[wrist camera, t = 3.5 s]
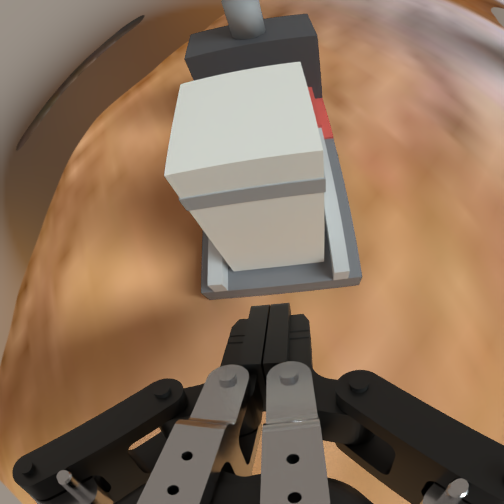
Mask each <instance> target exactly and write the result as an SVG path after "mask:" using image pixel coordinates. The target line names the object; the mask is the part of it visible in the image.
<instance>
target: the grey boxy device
mask: <svg viewBox="0 0 504 504" xmlns="http://www.w3.org/2000/svg"><path fill="white" fill-rule="evenodd" d="M221 2H222V5H223V8H224V11H225V15H226V18H227V21H228V24H229V25H228V26H224V27H219V28H215V29H211V30H207V31H202V32H199V33H195V34H191V36H190V39H189V43H188V47H187V51H186V55H185V61H186V64H187V66H188V68H189V71H190V73H191V75H192V77H193V80H194V81H195V80H199V79H203V78H207V77H212V76H216V75H221V74H225V73H230V72H235V71H241V70H246V69H252V68H258V67H264V66H270V65H277V64H284V63H292V62H301V66H302V69H303V73H304V76H305V80H306V83H307V87H308V91H309V94H310V98H311V102H312V106H313V110H314V114H315V118H316V122H317V126H318V130H319V134H320V139H321V143H322V147H323V159H324V173H325V178H326V192H324V262H317V263H308V264H299V265H290V266H281V267H272V268H262V269H253V270H243V271H233V270H232V269H231V267H230V266H229V265H228V263H227V262H226V261H225V259H224V258H223V257H222V255H221V254H220V253H219V251H218V250H217V248H216V247H215V246H214V244H213V243H212V242H211V240H210V239H209V238H208V236H207V235H206V233H205V232H204V231H203V239H202V273H201V293H202V294H203V295H204V296H205V297H207V298H208V299H209V300H214V299H226V298H238V297H250V296H261V295H272V294H282V293H292V292H302V291H311V290H321V289H330V288H338V287H347V286H355V285H359V284H360V281H361V279H362V272H361V266H360V260H359V254H358V249H357V243H356V238H355V232H354V227H353V222H352V217H351V212H350V207H349V202H348V198H347V193H346V189H345V184H344V180H343V175H342V171H341V167H340V163H339V159H338V155H337V151H336V147H335V143H334V139H333V134H332V130H331V126H330V123H329V119H328V116H327V112H326V109H325V105H324V102H323V99H322V86H321V72H320V60H319V49H318V38H317V34H316V32H315V30H314V27H313V25H312V23H311V21H310V19H309V17H308V15H307V14H300V15H290V16H282V17H274V18H267V19H263V16H262V12H261V8H260V3H259V0H222V1H221Z"/></svg>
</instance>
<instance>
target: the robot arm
mask: <svg viewBox="0 0 504 504" xmlns="http://www.w3.org/2000/svg"><path fill="white" fill-rule="evenodd" d="M263 411H266V424H263V429H262V424H261V420H262V412H263ZM158 427H159V428H160V430H161V431H162V432H160V433H159V434H157V435H156V436H154V437H153V438H151V439H149V440H148V441H146V442H145V443H143V444H142V445H140V446H138V447H137V448H135V449H133V450H128V449H129V447H130V446H131V445H132V444H133V443H135V442H136V441H138V440H139V439H141V438H143V437H144V436H146V435H147V434H149V433H150V432H152V431H153V430H155V429H157V428H158ZM261 431H262V461H261V474H258V475H253V476H252V470H253V465H254V461H255V457H256V453H257V448H258V444H259V440H260V435H261ZM322 440H324V441H330V442H335V443H336V445H337V447H338V448H339V449H340V450H341V451H342V452H344V453H345V454H346V455H347V456H349V457H350V458H351V459H352V460H354V461H355V462H356V463H357V464H359V465H360V466H361V467H363V468H364V469H365V470H366V471H368V472H369V473H370V474H372V475H373V476H374V477H376V478H377V479H378V480H380V481H381V482H382V483H384V484H385V485H386V486H388V487H389V488H390V489H392V490H393V491H394V492H396V493H397V494H399V495H400V496H401V497H403V498H404V499H406V500H407V501H408V502H410V503H411V504H504V445H502V444H500V443H498V442H496V441H494V440H492V439H490V438H488V437H486V436H484V435H483V434H481V433H479V432H477V431H475V430H473V429H471V428H470V427H468V426H466V425H464V424H462V423H460V422H459V421H457V420H455V419H453V418H451V417H449V416H448V415H446V414H444V413H442V412H440V411H439V410H437V409H435V408H433V407H432V406H430V405H428V404H426V403H424V402H423V401H421V400H419V399H417V398H416V397H414V396H412V395H410V394H409V393H407V392H405V391H404V390H402V389H400V388H398V387H397V386H395V385H393V384H392V383H390V382H388V381H386V380H385V379H383V378H381V377H380V376H378V375H376V374H375V373H373V372H370V371H366V370H355V371H351V372H348V373H346V374H344V375H343V376H341V377H340V378H339V379H338V380H334V379H328V378H324V377H322V376H320V375H318V374H317V373H316V372H315V371H314V370H313V366H312V348H311V336H310V325H309V320H308V319H307V318H306V317H305V315H304V314H298V315H291V310H290V304H289V303H283V304H272V305H271V306H270V305H262V306H252V307H251V309H250V314H249V318H248V319H239V320H238V321H237V322H236V324H235V325H234V326H233V327H232V329H231V332H230V337H229V339H228V344H227V346H226V349H225V353H224V356H223V359H222V363H221V366H220V367H219V368H217V369H215V370H213V371H212V372H211V373H210V374H209V376H208V377H207V380H206V382H205V383H204V384H201V385H197V386H193V387H188V388H183V386H182V384H181V383H180V382H179V381H177V380H175V379H161V380H158V381H155V382H154V383H152V384H150V385H149V386H147V387H145V388H144V389H142V390H140V391H139V392H137V393H135V394H134V395H132V396H130V397H129V398H127V399H125V400H124V401H122V402H120V403H119V404H117V405H115V406H114V407H112V408H110V409H108V410H107V411H105V412H103V413H101V414H100V415H98V416H96V417H95V418H93V419H91V420H89V421H87V422H86V423H84V424H82V425H80V426H79V427H77V428H75V429H73V430H71V431H70V432H68V433H66V434H64V435H62V436H60V437H58V438H57V439H55V440H53V441H51V442H49V443H47V444H45V445H43V446H42V447H40V448H38V449H36V450H34V451H32V452H30V453H28V454H26V455H24V456H22V457H21V458H20V459H19V460H18V461H17V462H16V463H15V465H14V468H13V478H14V480H15V482H16V483H17V484H18V485H20V486H21V487H22V488H23V489H24V490H25V491H26V492H27V493H29V494H30V496H31V497H32V498H33V499H34V500H35V501H36V502H37V504H373V503H372V502H371V501H369V500H368V499H367V498H366V497H365V496H364V495H362V494H361V493H360V492H359V491H358V490H356V489H355V488H353V487H352V486H350V485H348V484H346V483H344V482H341V481H338V480H336V479H331V478H327V471H326V463H325V456H324V448H323V441H322Z"/></svg>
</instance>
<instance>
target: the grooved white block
mask: <svg viewBox="0 0 504 504" xmlns="http://www.w3.org/2000/svg"><path fill="white" fill-rule="evenodd" d="M164 177H165V178H166V179H167V181H168V182H169V184H170V185H171V186H172V188H173V189H174V191H175V192H176V193H177V195H178V196H179V201H180V202H181V204H182V205H183V206H184V208H185V209H186V210H187V211H190V213H191V214H192V216H193V217H194V218H195V220H196V221H197V222H198V224H199V225H200V227H201V228H202V229H203V231H204V232H205V233H206V235H207V236H208V238H209V239H210V240H211V242H212V243H213V244H214V246H215V247H216V248H217V250H218V251H219V253H220V254H221V255H222V257H223V258H224V259H225V261H226V262H227V263H228V265H229V266H230V267H231V269H232V270H233V271H243V270H253V269H262V268H272V267H281V266H290V265H299V264H308V263H317V262H324V192H326V178H325V173H324V159H323V147H322V143H321V139H320V134H319V130H318V126H317V122H316V118H315V114H314V110H313V106H312V102H311V98H310V94H309V91H308V87H307V83H306V80H305V76H304V73H303V69H302V66H301V62H292V63H284V64H277V65H270V66H264V67H258V68H252V69H246V70H241V71H235V72H230V73H225V74H221V75H216V76H212V77H207V78H203V79H199V80H195V81H191V82H187V83H183V84H180V89H179V94H178V99H177V104H176V109H175V114H174V119H173V124H172V130H171V135H170V141H169V147H168V153H167V159H166V166H165V172H164Z"/></svg>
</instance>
